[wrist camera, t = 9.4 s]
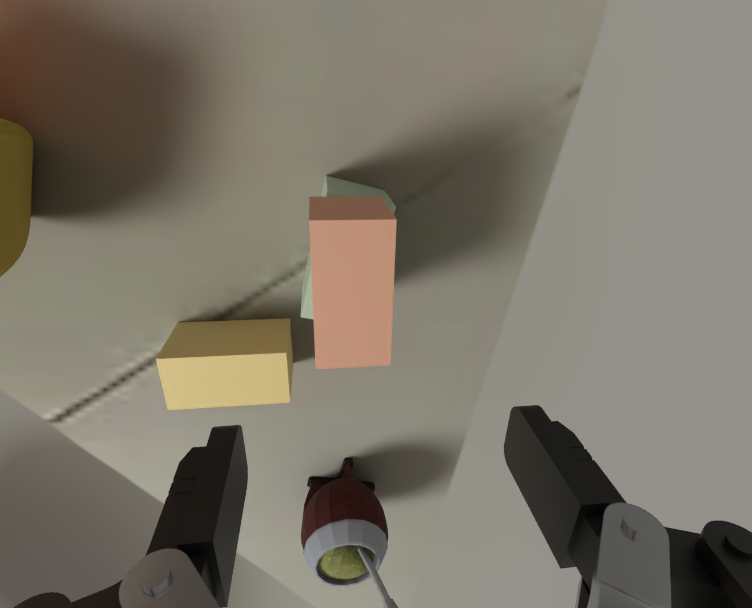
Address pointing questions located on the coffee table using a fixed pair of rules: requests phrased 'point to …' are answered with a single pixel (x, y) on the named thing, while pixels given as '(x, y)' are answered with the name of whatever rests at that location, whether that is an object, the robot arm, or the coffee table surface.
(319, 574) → the mate gourd
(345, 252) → the terracotta brick
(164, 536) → the robot arm
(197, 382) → the ochre brick
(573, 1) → the coffee table surface
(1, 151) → the flower pot
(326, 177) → the sage brick
